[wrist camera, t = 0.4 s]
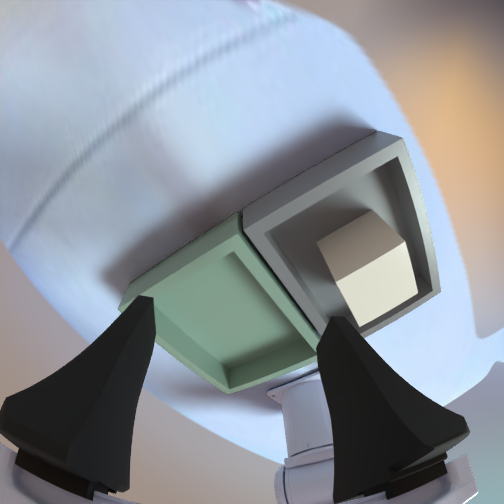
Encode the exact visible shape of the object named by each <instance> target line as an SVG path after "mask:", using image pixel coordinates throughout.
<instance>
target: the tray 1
mask: <svg viewBox="0 0 504 504" xmlns="http://www.w3.org/2000/svg"><path fill="white" fill-rule="evenodd" d="M138 295H142V296H148V297H154V312H155V324H156V337H155V342H156V343H157V344H158V345H160V346H161V347H162V348H163V349H165V350H166V351H167V352H168V353H170V354H171V355H172V356H174V357H175V358H176V359H177V360H179V361H180V362H181V363H183V364H184V365H185V366H187V367H188V368H190V369H191V370H192V371H194V372H195V373H196V374H198V375H199V376H201V377H202V378H204V379H205V380H206V381H208V382H209V383H211V384H212V385H214V386H215V387H217V388H218V389H220V390H221V391H223V392H224V393H226V394H227V395H229V394H232V393H235V392H238V391H241V390H244V389H247V388H250V387H253V386H255V385H258V384H261V383H264V382H266V381H269V380H272V379H274V378H277V377H279V376H282V375H285V374H287V373H290V372H292V371H294V370H297V369H299V368H302V367H304V366H306V365H309V364H311V363H313V362H315V361H317V353H316V347H317V345H318V343H319V341H320V339H321V337H322V336H321V334H320V333H319V332H318V330H317V329H316V328H315V326H314V325H313V324H312V322H311V321H310V319H309V318H308V317H307V315H306V314H305V313H304V311H303V310H302V309H301V307H300V306H299V304H298V303H297V302H296V300H295V299H294V298H293V296H292V295H291V294H290V292H289V291H288V290H287V288H286V287H285V285H284V284H283V283H282V281H281V280H280V279H279V277H278V276H277V275H276V273H275V272H274V271H273V269H272V268H271V267H270V265H269V264H268V262H267V261H266V260H265V258H264V257H263V256H262V254H261V253H260V252H259V250H258V249H257V248H256V246H255V245H254V244H253V242H252V241H251V240H250V238H249V237H248V236H247V234H246V233H245V231H244V230H243V219H242V217H241V216H240V214H239V213H238V212H236V213H235V214H233V215H232V216H230V217H229V218H227V219H225V220H224V221H222V222H221V223H219V224H217V225H216V226H214V227H213V228H211V229H210V230H208V231H207V232H205V233H203V234H202V235H200V236H199V237H197V238H196V239H194V240H193V241H191V242H190V243H188V244H187V245H185V246H184V247H182V248H181V249H179V250H178V251H176V252H175V253H173V254H172V255H170V256H169V257H167V258H166V259H164V260H163V261H161V262H160V263H158V264H157V265H155V266H154V267H152V268H151V269H150V270H148V271H147V272H145V273H144V274H142V275H141V276H139V277H138V278H137V279H135V280H134V281H132V282H131V283H130V284H129V286H128V288H127V290H126V292H125V295H124V297H123V299H122V301H121V303H120V305H119V307H118V310H119V311H120V312H121V313H122V312H123V311H124V310H125V309H126V308H127V307H128V306H129V305H130V304H131V302H132V301H133V300H134V299H135V298H136V297H137V296H138Z"/></svg>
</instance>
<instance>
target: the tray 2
mask: <svg viewBox="0 0 504 504" xmlns="http://www.w3.org/2000/svg"><path fill="white" fill-rule="evenodd" d="M371 210H373V211H375V212H376V213H377V214H378V215H379V216H380V217H381V218H382V219H383V220H384V221H385V222H386V223H387V224H388V225H389V226H390V227H391V228H392V229H393V230H394V231H395V232H396V233H397V234H398V235H399V236H400V237H401V238H402V239H403V240H404V241H405V243H406V246H407V250H408V253H409V257H410V261H411V265H412V269H413V273H414V277H415V281H416V286H417V290H418V293H417V294H416V295H414V296H413V297H411V298H409V299H408V300H406V301H404V302H403V303H401V304H399V305H398V306H396V307H394V308H393V309H391V310H389V311H388V312H386V313H384V314H382V315H381V316H379V317H377V318H375V319H374V320H372V321H370V322H368V323H366V324H364V325H363V326H361V327H359V325H358V323H357V321H356V319H355V317H354V315H353V313H352V312H351V310H350V308H349V306H348V304H347V302H346V300H345V298H344V297H343V295H342V293H341V291H340V289H339V287H338V286H337V284H336V282H335V280H334V278H333V276H332V273H331V271H330V269H329V267H328V265H327V263H326V261H325V259H324V257H323V255H322V253H321V251H320V249H319V247H318V245H317V243H316V242H317V241H319V240H321V239H322V238H324V237H326V236H328V235H329V234H331V233H333V232H335V231H336V230H338V229H340V228H342V227H343V226H345V225H347V224H348V223H350V222H352V221H354V220H355V219H357V218H359V217H360V216H362V215H364V214H366V213H367V212H369V211H371ZM243 230H244V231H245V233H246V234H247V236H248V237H249V238H250V240H251V241H252V242H253V244H254V245H255V246H256V248H257V249H258V250H259V252H260V253H261V254H262V256H263V257H264V258H265V260H266V261H267V262H268V264H269V265H270V267H271V268H272V269H273V271H274V272H275V273H276V275H277V276H278V277H279V279H280V280H281V281H282V283H283V284H284V285H285V287H286V288H287V290H288V291H289V292H290V294H291V295H292V296H293V298H294V299H295V300H296V302H297V303H298V304H299V306H300V307H301V309H302V310H303V311H304V313H305V314H306V315H307V317H308V318H309V319H310V321H311V322H312V324H313V325H314V326H315V328H316V329H317V330H318V332H319V333H320V334H321V336H322V335H323V333H324V330H325V328H326V326H327V324H328V322H329V320H330V318H331V316H343V317H345V318H346V319H347V320H348V321H349V322H350V323H351V324H352V325H353V327H354V328H355V329H356V330H357V331H358V332H359V333H360V335H361V336H362V337H363V338H365V337H367V336H369V335H371V334H372V333H374V332H376V331H378V330H380V329H382V328H383V327H385V326H387V325H389V324H390V323H392V322H394V321H396V320H397V319H399V318H401V317H402V316H404V315H406V314H407V313H409V312H411V311H412V310H414V309H415V308H417V307H419V306H420V305H422V304H423V303H425V302H426V301H428V300H429V299H431V298H432V297H434V296H435V295H437V294H438V293H440V292H441V289H440V281H439V273H438V267H437V260H436V254H435V249H434V243H433V238H432V233H431V229H430V224H429V220H428V216H427V212H426V208H425V204H424V200H423V196H422V193H421V189H420V186H419V183H418V179H417V176H416V173H415V170H414V167H413V164H412V161H411V158H410V155H409V152H408V150H407V147H406V144H405V142H404V139H403V138H401V137H398V136H395V135H391V134H388V133H385V132H381V131H377V132H375V133H373V134H371V135H369V136H367V137H365V138H363V139H362V140H360V141H358V142H356V143H354V144H352V145H351V146H349V147H347V148H345V149H343V150H341V151H340V152H338V153H336V154H334V155H333V156H331V157H329V158H327V159H325V160H324V161H322V162H320V163H318V164H317V165H315V166H313V167H311V168H310V169H308V170H306V171H304V172H303V173H301V174H299V175H298V176H296V177H294V178H293V179H291V180H289V181H287V182H286V183H284V184H282V185H281V186H279V187H277V188H276V189H274V190H272V191H271V192H269V193H267V194H266V195H264V196H262V197H261V198H259V199H257V200H256V201H254V202H253V203H251V204H249V205H248V206H246V207H245V208H243Z"/></svg>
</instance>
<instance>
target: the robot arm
mask: <svg viewBox="0 0 504 504" xmlns="http://www.w3.org/2000/svg"><path fill="white" fill-rule="evenodd" d="M155 337H156V324H155V312H154V297H148V296H142V295H138V296H137V297H136V298H135V299H134V300H133V301H132V302H131V304H130V305H129V306H128V307H127V308H126V309H125V310H124V311H123V312H122V314H121V315H120V316H119V317H118V318H117V319H116V320H115V321H114V322H113V323H112V324H111V325H110V326H109V327H108V328H107V329H106V330H105V331H104V332H103V333H102V334H101V335H100V336H99V337H98V338H97V339H96V340H95V341H94V342H93V343H92V344H91V345H90V346H88V347H87V348H86V349H85V350H84V351H83V352H81V353H80V354H79V355H78V356H77V357H75V358H74V359H73V360H72V361H70V362H69V363H67V364H66V365H65V366H63V367H62V368H60V369H59V370H58V371H56V372H55V373H53V374H52V375H50V376H48V377H46V378H45V379H43V380H42V381H40V382H38V383H36V384H35V385H33V386H31V387H29V388H27V389H25V390H23V391H20V392H18V393H16V394H14V395H11V396H9V397H6V399H5V401H4V403H3V405H2V407H1V410H0V433H1V434H2V435H3V436H4V437H5V438H7V439H8V440H9V441H10V442H12V443H13V444H14V445H15V446H17V447H18V448H19V450H18V453H16V452H14V451H13V450H11V449H10V448H8V447H6V446H5V445H3V444H2V443H0V504H139V503H135V502H131V501H127V500H123V499H120V498H116V497H113V496H109V495H108V492H111V493H115V494H116V493H117V491H119V492H125V491H127V490H128V489H129V488H130V484H129V483H130V456H131V444H132V435H133V427H134V420H135V414H136V408H137V403H138V399H139V396H140V392H141V389H142V386H143V382H144V379H145V376H146V373H147V369H148V366H149V363H150V360H151V356H152V352H153V347H154V342H155ZM316 353H317V362H318V369H319V371H318V372H315V373H313V374H311V375H308V376H306V377H303V378H301V379H298V380H296V381H293V382H291V383H288V384H286V385H283V386H280V387H278V388H275V389H272V390H269V391H268V392H267V396H269V397H270V398H272V399H273V400H275V401H276V402H277V403H279V404H280V405H282V411H283V419H284V427H285V435H286V443H287V452H288V458H285V459H284V461H285V465H283V466H281V467H279V469H278V471H277V472H276V474H275V480H274V486H275V495H276V499H277V502H278V504H339V503H341V504H464V503H465V502H467V501H468V500H469V499H471V498H472V497H473V496H475V495H476V494H477V493H478V489H477V485H476V482H475V479H474V476H473V472H472V470H471V467H470V464H469V461H468V458H467V455H466V454H463V455H461V456H460V457H458V458H456V459H454V460H453V461H451V462H449V463H447V464H445V463H444V460H445V459H447V454H446V451H448V450H449V449H451V448H452V447H453V446H455V445H457V444H458V443H459V442H461V441H462V440H463V439H465V438H466V437H467V436H468V435H469V433H470V431H469V428H468V426H467V423H466V421H465V419H464V417H463V416H461V415H459V414H456V413H454V412H452V411H450V410H448V409H446V408H444V407H442V406H441V405H439V404H437V403H436V402H434V401H432V400H431V399H429V398H428V397H426V396H425V395H423V394H422V393H421V392H419V391H418V390H416V389H415V388H414V387H413V386H411V385H410V384H409V383H408V382H406V381H405V380H404V379H403V378H402V377H401V376H399V375H398V374H397V373H396V372H395V371H394V370H393V369H392V368H391V367H390V366H389V365H388V364H387V363H386V362H385V361H384V360H383V359H382V358H381V357H380V356H379V355H378V354H377V353H376V351H375V350H374V349H373V348H372V347H371V346H370V345H369V344H368V343H367V341H366V340H365V339H364V338H363V337H362V336H361V335H360V333H359V332H358V331H357V330H356V329H355V328H354V327H353V325H352V324H351V323H350V322H349V321H348V320H347V319H346V318H345V317H343V316H331V318H330V320H329V322H328V324H327V326H326V328H325V330H324V333H323V335H322V337H321V339H320V341H319V343H318V345H317V347H316ZM358 498H359V499H358ZM355 499H357V500H355ZM351 500H353V501H351ZM347 501H350V502H347ZM343 502H345V503H343Z"/></svg>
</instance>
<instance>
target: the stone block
mask: <svg viewBox="0 0 504 504" xmlns="http://www.w3.org/2000/svg"><path fill="white" fill-rule="evenodd" d="M316 243H317V245H318V247H319V249H320V251H321V253H322V255H323V257H324V259H325V261H326V263H327V265H328V267H329V269H330V271H331V273H332V276H333V278H334V280H335V282H336V284H337V286H338V287H339V289H340V291H341V293H342V295H343V297H344V298H345V300H346V302H347V304H348V306H349V308H350V310H351V312H352V313H353V315H354V317H355V319H356V321H357V323H358V325H359V327H361V326H363V325H364V324H366V323H368V322H370V321H372V320H374V319H375V318H377V317H379V316H381V315H382V314H384V313H386V312H388V311H389V310H391V309H393V308H394V307H396V306H398V305H399V304H401V303H403V302H404V301H406V300H408V299H409V298H411V297H413V296H414V295H416V294H417V293H418V290H417V286H416V281H415V277H414V273H413V269H412V265H411V261H410V257H409V253H408V250H407V246H406V243H405V241H404V240H403V239H402V238H401V237H400V236H399V235H398V234H397V233H396V232H395V231H394V230H393V229H392V228H391V227H390V226H389V225H388V224H387V223H386V222H385V221H384V220H383V219H382V218H381V217H380V216H379V215H378V214H377V213H376V212H375V211H373V210H371V211H369V212H367V213H366V214H364V215H362V216H360V217H359V218H357V219H355V220H354V221H352V222H350V223H348V224H347V225H345V226H343V227H342V228H340V229H338V230H336V231H335V232H333V233H331V234H329V235H328V236H326V237H324V238H322V239H321V240H319V241H317V242H316Z"/></svg>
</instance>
